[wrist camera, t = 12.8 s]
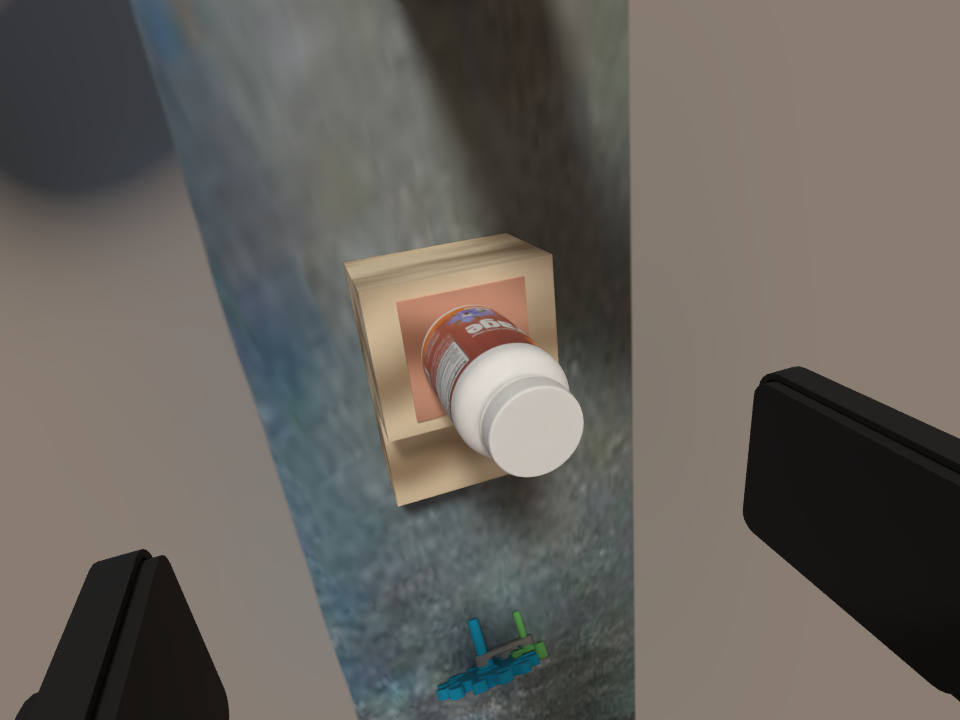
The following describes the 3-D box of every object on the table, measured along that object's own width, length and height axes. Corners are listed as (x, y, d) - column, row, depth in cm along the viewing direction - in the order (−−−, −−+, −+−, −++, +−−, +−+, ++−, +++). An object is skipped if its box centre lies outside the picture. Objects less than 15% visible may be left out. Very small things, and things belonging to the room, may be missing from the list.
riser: (343, 262, 40) (358, 293, 32) (506, 232, 42) (553, 254, 35) (388, 478, 47) (409, 542, 40) (524, 440, 50) (567, 493, 43)
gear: (428, 703, 55) (458, 714, 47) (411, 638, 57) (437, 638, 49) (527, 660, 60) (570, 663, 52) (509, 601, 62) (547, 595, 53)
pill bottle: (528, 318, 36) (621, 389, 27) (491, 404, 38) (566, 501, 28) (440, 288, 34) (507, 354, 24) (403, 381, 35) (453, 480, 25)
